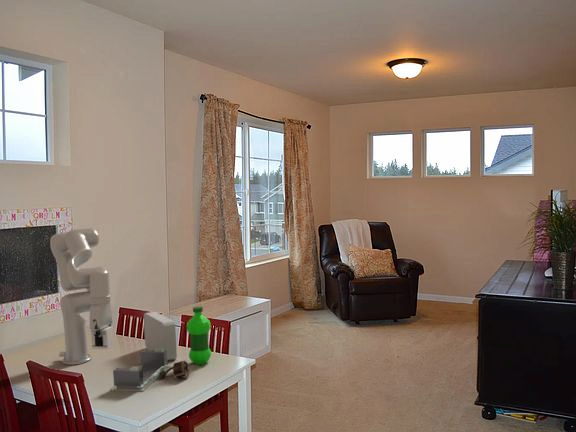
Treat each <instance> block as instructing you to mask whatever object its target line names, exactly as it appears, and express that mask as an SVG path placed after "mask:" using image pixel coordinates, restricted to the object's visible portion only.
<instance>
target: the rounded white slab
mask: <svg viewBox="0 0 576 432" xmlns="http://www.w3.org/2000/svg"><path fill="white" fill-rule="evenodd" d="M143 329H144V343H145V344H144V345H145V348H146V350H156V349H158V348H164V350H167V362H169V361H173V360H176V359H177V357H178V353H177V335H176V334H177V333H176V324H175V322H174V320H173V319H171V318H168V317H167V316H165V315H164V314H161V313H159V312H158V311H150V312H145V313H143ZM168 360H169V361H168Z"/></svg>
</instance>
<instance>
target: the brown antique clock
mask: <svg viewBox="0 0 576 432" xmlns="http://www.w3.org/2000/svg"><path fill="white" fill-rule="evenodd" d="M171 370H172V371H173V374H172V375H167V374H168V373H169V372H170V371H171ZM190 373H191V369H190V368H189V363H188V361H187V360H180V361H178V362H175V363H173V365H172V366H171V368H169V369H168V370H167V371H166V372H165V371H164V370H163V371H161V372H160V373H159V378H158V379H160V380H164V378H165V379H173V378H175V379H181V378H185V380H188V378H189V375H190Z"/></svg>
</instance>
